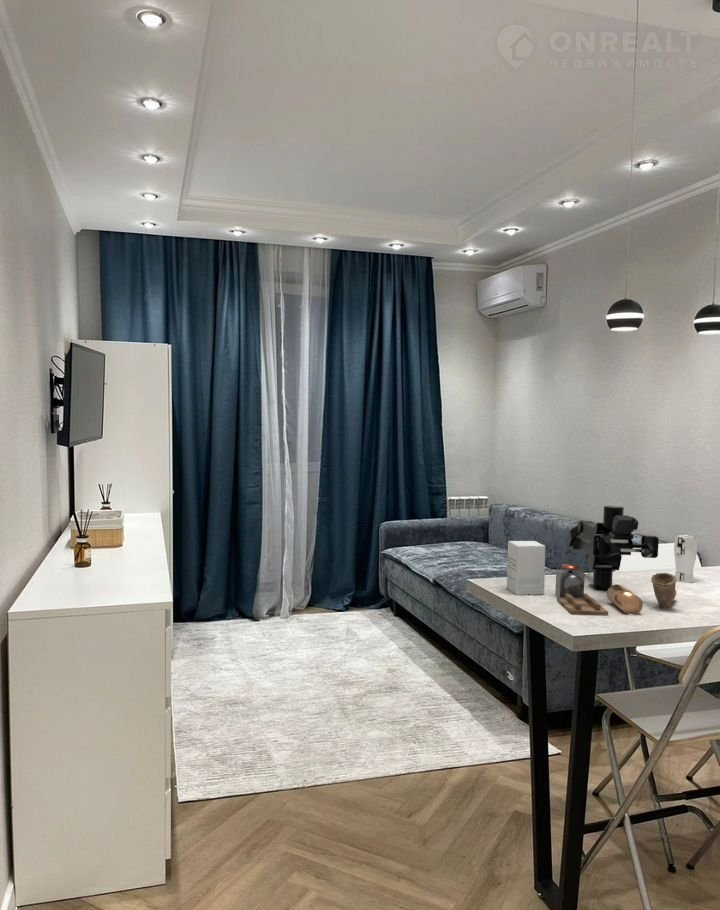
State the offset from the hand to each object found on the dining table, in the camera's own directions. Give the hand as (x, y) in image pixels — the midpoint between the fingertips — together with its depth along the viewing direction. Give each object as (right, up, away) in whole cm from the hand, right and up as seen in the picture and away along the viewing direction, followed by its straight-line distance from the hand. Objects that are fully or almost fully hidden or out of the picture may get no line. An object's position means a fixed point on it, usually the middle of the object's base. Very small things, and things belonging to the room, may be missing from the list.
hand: (635, 551), depth 193 cm
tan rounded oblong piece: (-2, -17, +2) cm, 17 cm away
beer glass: (+32, -16, +40) cm, 53 cm away
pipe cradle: (-14, -16, +2) cm, 22 cm away
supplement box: (-26, -15, +19) cm, 36 cm away
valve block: (-14, -15, +14) cm, 25 cm away
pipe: (+12, -17, +7) cm, 22 cm away
